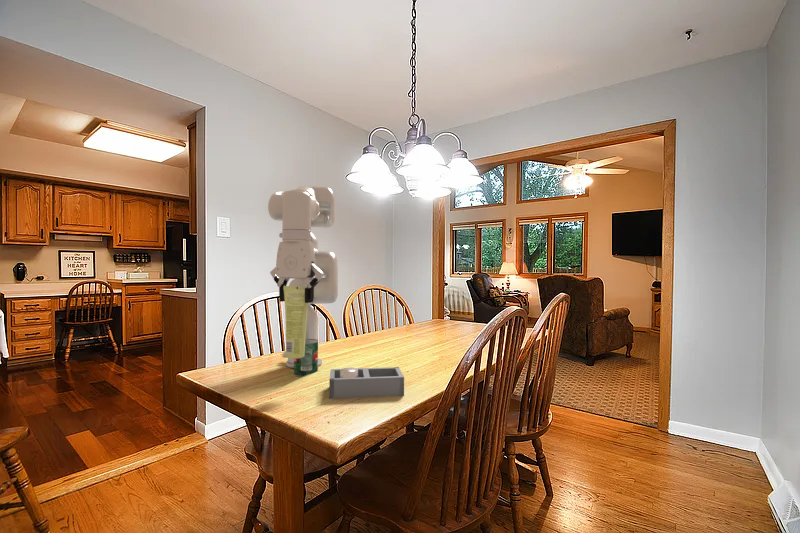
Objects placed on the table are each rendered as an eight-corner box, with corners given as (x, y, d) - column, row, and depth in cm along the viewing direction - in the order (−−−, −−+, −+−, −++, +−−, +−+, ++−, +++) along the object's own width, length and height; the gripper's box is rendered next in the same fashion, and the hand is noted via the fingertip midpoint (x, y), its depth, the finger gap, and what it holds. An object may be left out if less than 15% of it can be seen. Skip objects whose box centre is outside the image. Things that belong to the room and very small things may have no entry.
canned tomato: (289, 373, 129) (289, 340, 128) (310, 369, 134) (310, 337, 134) (300, 378, 123) (301, 344, 123) (322, 374, 128) (322, 341, 128)
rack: (329, 402, 102) (329, 379, 102) (330, 389, 112) (330, 369, 112) (404, 399, 105) (404, 377, 105) (398, 387, 115) (398, 367, 115)
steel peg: (336, 393, 106) (336, 371, 106) (344, 387, 111) (344, 367, 111) (353, 395, 104) (353, 373, 104) (360, 389, 109) (360, 368, 109)
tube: (301, 353, 110) (302, 285, 109) (309, 357, 106) (310, 286, 105) (282, 356, 106) (283, 285, 106) (290, 360, 102) (290, 287, 102)
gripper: (261, 236, 104) (260, 301, 105) (317, 236, 99) (317, 304, 99) (278, 237, 111) (277, 298, 112) (331, 237, 106) (331, 301, 106)
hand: (296, 301), depth 106 cm, fingers closed on tube, 7 cm apart
